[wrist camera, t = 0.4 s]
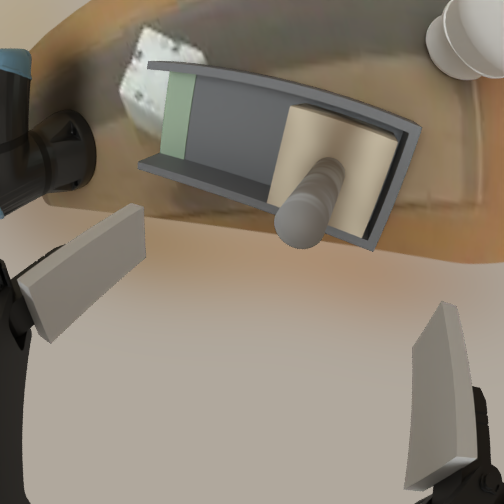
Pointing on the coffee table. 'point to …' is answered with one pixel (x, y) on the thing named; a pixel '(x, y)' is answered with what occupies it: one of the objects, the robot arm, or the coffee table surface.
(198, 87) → the bay
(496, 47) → the water bottle
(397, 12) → the coffee table surface
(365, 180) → the beige block with post
